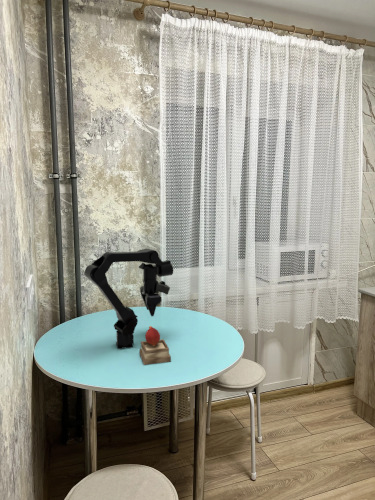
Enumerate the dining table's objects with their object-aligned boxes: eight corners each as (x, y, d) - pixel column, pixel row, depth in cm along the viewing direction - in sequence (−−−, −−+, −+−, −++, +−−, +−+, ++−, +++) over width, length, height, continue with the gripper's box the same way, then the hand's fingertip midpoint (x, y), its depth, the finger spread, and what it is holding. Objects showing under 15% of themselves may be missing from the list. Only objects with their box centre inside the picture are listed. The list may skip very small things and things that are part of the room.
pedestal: (143, 364, 140) (143, 351, 140) (139, 353, 150) (139, 341, 150) (170, 361, 143) (170, 348, 143) (164, 350, 153) (164, 338, 152)
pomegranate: (154, 347, 150) (151, 328, 153) (164, 343, 147) (160, 324, 150) (144, 348, 146) (140, 328, 149) (153, 343, 143) (150, 323, 146)
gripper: (173, 281, 155) (173, 318, 157) (163, 272, 172) (163, 305, 175) (146, 283, 152) (147, 320, 154) (139, 274, 169) (139, 307, 172)
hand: (150, 312), depth 164 cm, fingers open, 9 cm apart
